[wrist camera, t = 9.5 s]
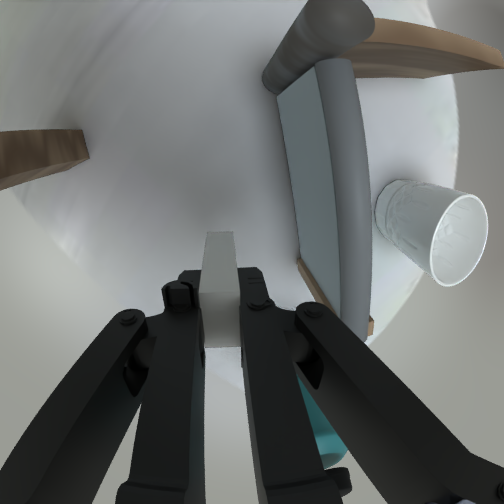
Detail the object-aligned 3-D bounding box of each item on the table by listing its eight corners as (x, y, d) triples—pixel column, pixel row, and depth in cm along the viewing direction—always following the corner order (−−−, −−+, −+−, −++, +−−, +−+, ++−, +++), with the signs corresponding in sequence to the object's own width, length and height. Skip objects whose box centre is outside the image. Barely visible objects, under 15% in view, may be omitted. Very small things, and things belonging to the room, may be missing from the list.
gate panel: (271, 97, 20) (315, 58, 9) (299, 95, 20) (362, 59, 9) (298, 270, 26) (342, 350, 16) (321, 264, 26) (375, 339, 16)
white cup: (381, 256, 28) (435, 303, 19) (358, 193, 25) (422, 223, 16) (430, 223, 27) (489, 256, 18) (414, 162, 24) (483, 179, 15)
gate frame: (59, 143, 20) (-48, 160, 7) (417, 59, 19) (514, 41, 6) (66, 170, 21) (-39, 206, 8) (424, 84, 21) (525, 76, 8)
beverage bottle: (255, 360, 31) (283, 516, 13) (246, 318, 29) (276, 503, 10) (307, 349, 32) (362, 495, 13) (305, 306, 29) (380, 474, 11)
